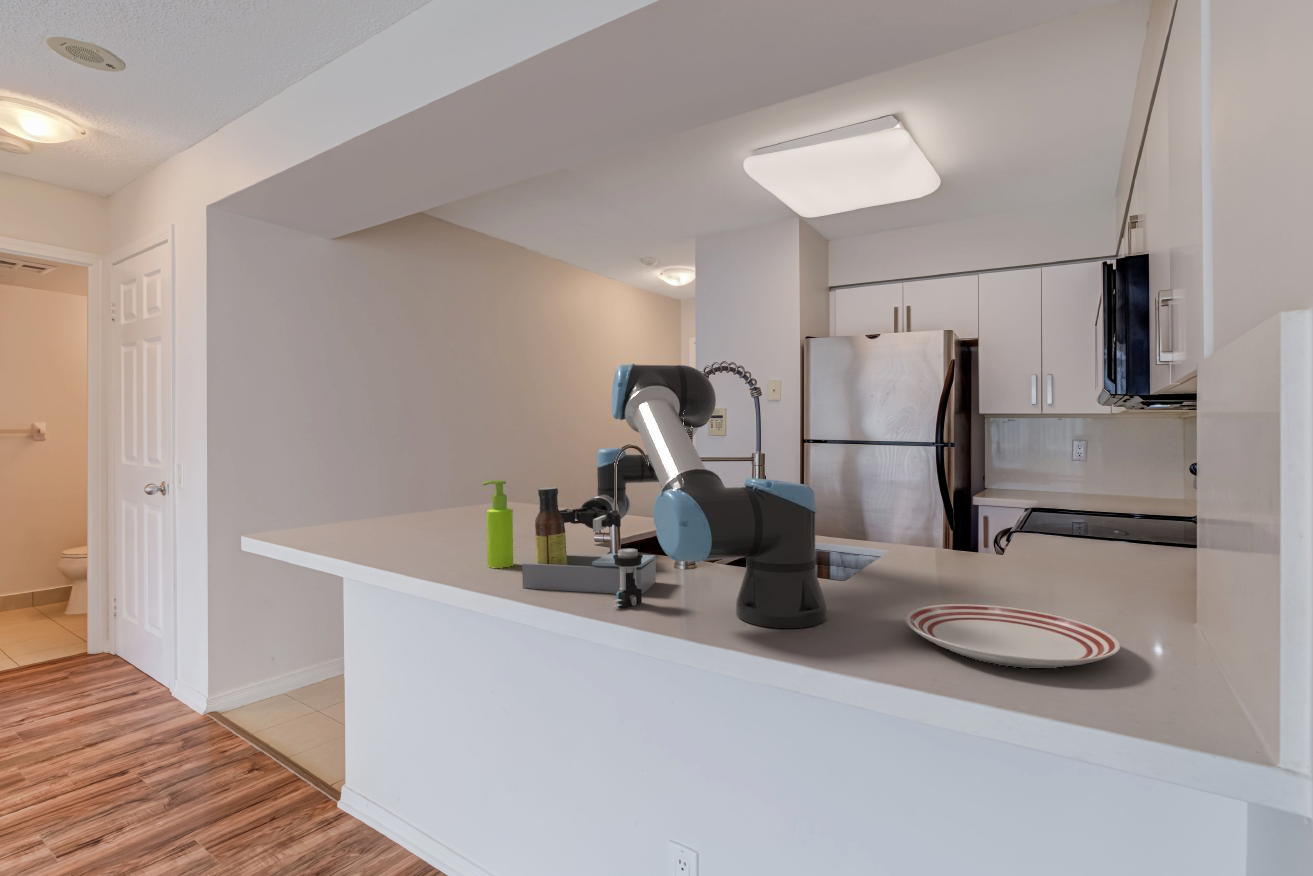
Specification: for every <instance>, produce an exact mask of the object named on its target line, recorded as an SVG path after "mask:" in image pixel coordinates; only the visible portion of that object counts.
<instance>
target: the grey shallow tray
mask: <svg viewBox="0 0 1313 876" xmlns="http://www.w3.org/2000/svg"><path fill="white" fill-rule="evenodd" d="M566 555H567V565H552V564H537V563H529V562H528V563H526V562H523V563H522V568H521V569H522V570H521V571H522V573H521V575H522V576H521V577H522V589H529V590H530V589H532V590H548V591H549V590H551V591H565V592H566V591H567V592H579V593H580V592H581V593H582V592H583V593H584V592H585V593H598V594H614V595H616V593H617V592H619V591H620V590H619V588H620V568H619V566H602V565H592V562H593V561H595V560H597V559H599V558H601V557H603V556H604V555H602V556H601V555H585V554H584V555H582V554H579V555H577V554H566ZM656 563H657V561H656V558H655V559H654V560H652V561H650V562H649V563H647V564H646V565H644V566H642V567H636V584H637V588H638V589H641V590H642V595H643V594H645V593H646V592H647V590H649V589H650V588H651V587H653V586H654V584H655V583H657V579H656V577H657V576H656V574H657V571H656V567H657V566H656Z"/></svg>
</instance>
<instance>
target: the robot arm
mask: <svg viewBox="0 0 1313 876" xmlns="http://www.w3.org/2000/svg"><path fill="white" fill-rule="evenodd" d="M613 375H614V376H613V381H612V391H611V413H612V416H613V418H614V419H615V420H620V421H623V420H626V423H627V424H628V426H629V428H631V429H632V430H633V431H634V432H636V433H639V435H640V438H641V441H642V444H643V446H644V448H645V451H646V452H647V454H627V453H626V450H625V451H623V453H622V454H621V456H620V457H619V460H618V464H617V510H614V463H615V460H616V457H617V454H618V453H619V452H620V450H621V449H622V448H621V447H609V448H608V447H605V448H600V449H599V450H598V451H597V456H596V457H597V459H596V471H597V473H596V475H597V478H596V479H597V491H596V492H597V496H595V497H592V498H590V499H587V500H586V501H584V503H583V504H582V505H581V506H580V508H579V507H578V508H572V509H571V508H565V509H561V510H559V511H560V514H561V516H562V517H563V519H564V524H565V523H566V524H567V523H570V524H572V525H578V524H581V525H582V524H583V525H584V526H586V527H587V528H589V529H592V532H593V533H597V532H599V531H602V530H604V529H606V528H607V527H608V528H612V527H613V525H614V527H617V528H620V527H621V526H622V524H621V519H623V518H624V517H625V516H627V515H628V513H629V512H630V510H631V509H630V508H631V502H630V498H629V496H628V495H627V491H626V489H627V487H626V485H627V484H634V483H635V484H637V483H638V484H639V483H640V484H641V483H642V484H643V483H645V484H646V483H658V484H659V485H660V487H661V490H660V493H659V494H658V495H657V497H656V498H655V502H654V505H653V506H654V507H653V523H654V526H655V528H656V529H655V534H656V538H657V540H658V544H659V545H660V547H661V549H662V551H663V552H664V553H665V554H666V555H667V556H668V557H669V558H670V559H672V560H673V561H677V562H690V563H700V562H703V561H704V562H707V561H715V560H716V561H717V560H727V559H729V560H731V559H738V558H739V559H740V558H745V561H746V562H745V563H746V564H745V565H746V566H745V573H744V576H743V578H742V582H741V585H740V588H739V591H738V595H737V598H736V601H735V610H736V611H735V615H736V617H737V618H739V619H740V620H741V621H744V622H746V623H748V624H752V625H754V626H761V627H767V628H773V629H777V628H778V629H802V628H807V627H812V626H817V625H819V624H822V623H823V622H825V621H826V620H827V603H826V600H825V596H824V594H823V591H822V587H821V585H820V581H819V578H818V575H817V572H816V571H817V570H816V514H817V507H816V500H815V497H816V496H815V492H814V490H813V488H812V487H811V486H809V485H807V484H803V483H797V482H789V481H785V480H784V481H783V480H776V479H765V478H754V477H748V478H746V479H745V482H744V485H743V486H741V487H738V486H737V487H736V486H735V487H734V486H733V487H726V486H725V484H724V483H723V481H722V479H721V477H720V476H719V474H717V473H716V472H715V471H713V470H710V469H707V468H706V466H705V465H704V463H703V461H702V458H701V457H700V455H699V453H698V451H697V449H696V447H695V445H694V444H693V441H692V439H690V437H689V435H688V433H687V431H686V429H687V430H688V428H689V429H690V430H691V431H692V429H691V425H692V427H693V437H695V435H696V433H697V431H698V430H699V429H700V428H703V427H704V426H705V425H707V424H708V422H709V420H711V418H712V417H713V414H714V412H715V409H716V405H717V404H716V403H717V402H716V401H717V397H716V391H715V389H714V386H713V385H712V383H711V381H710V379H709V378H708V377H707V376H706V375H705V374H704V373H703V372H702V371H700V370H699V369H697V368H695V367H692V366H690V365H682V364H680V365H679V364H678V365H672V364H671V365H670V364H666V365H665V364H664V365H663V364H662V365H661V364H635V363H631V364H621V365H619V366H618V367H617V368H616V369H615V372H614V374H613ZM684 410H685V411H684ZM683 411H684V414H683ZM683 418H684V425H683ZM685 428H686V429H685ZM643 455H645V456H646V458H647V460H648V462H649V466H647V464H646V461H645V458H644V457H643Z"/></svg>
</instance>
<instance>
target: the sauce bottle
mask: <svg viewBox="0 0 1313 876" xmlns="http://www.w3.org/2000/svg"><path fill="white" fill-rule="evenodd" d="M537 494H538V497H539V512H538V514H537V516H536V517H535V521H534V522H535V523H534V528H535V529H534V531H535V535H534V537H535V554H536V555H535V556H536V564H552V565H567V555H568V554H567V538H566V527H565V523H564V519H563V517H562V516H561V514H560V511H559V509H560V508H559V503H558V502H559V501H558V495H559V489H558V487H557V486H556V487H554V486H553V487H552V486H551V487H550V486H549V487H548V486H547V487H540V488H538V490H537Z"/></svg>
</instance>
